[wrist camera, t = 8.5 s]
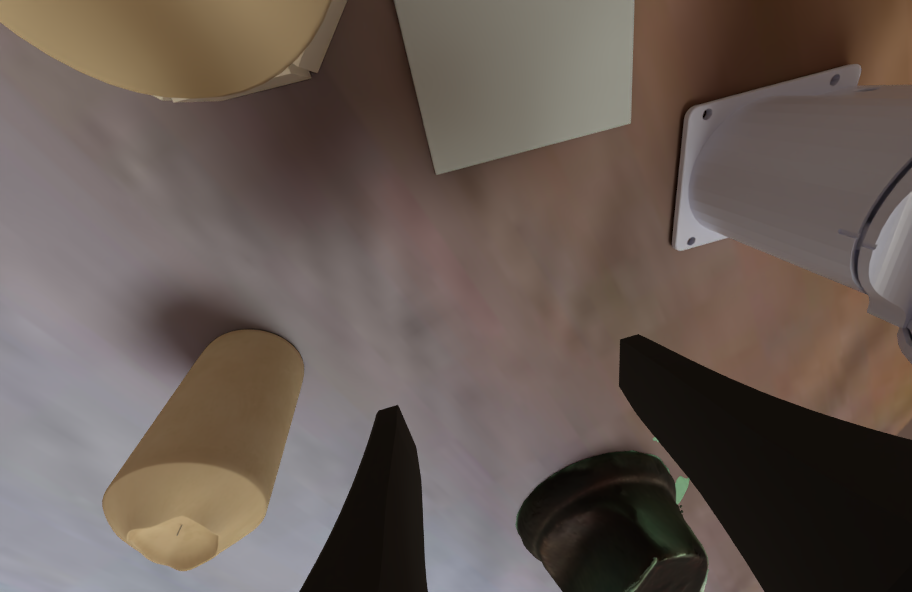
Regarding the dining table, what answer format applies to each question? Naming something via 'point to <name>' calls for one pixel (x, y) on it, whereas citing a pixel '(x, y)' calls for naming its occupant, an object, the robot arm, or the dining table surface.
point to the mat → (516, 73)
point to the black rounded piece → (614, 527)
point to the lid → (170, 40)
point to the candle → (209, 453)
